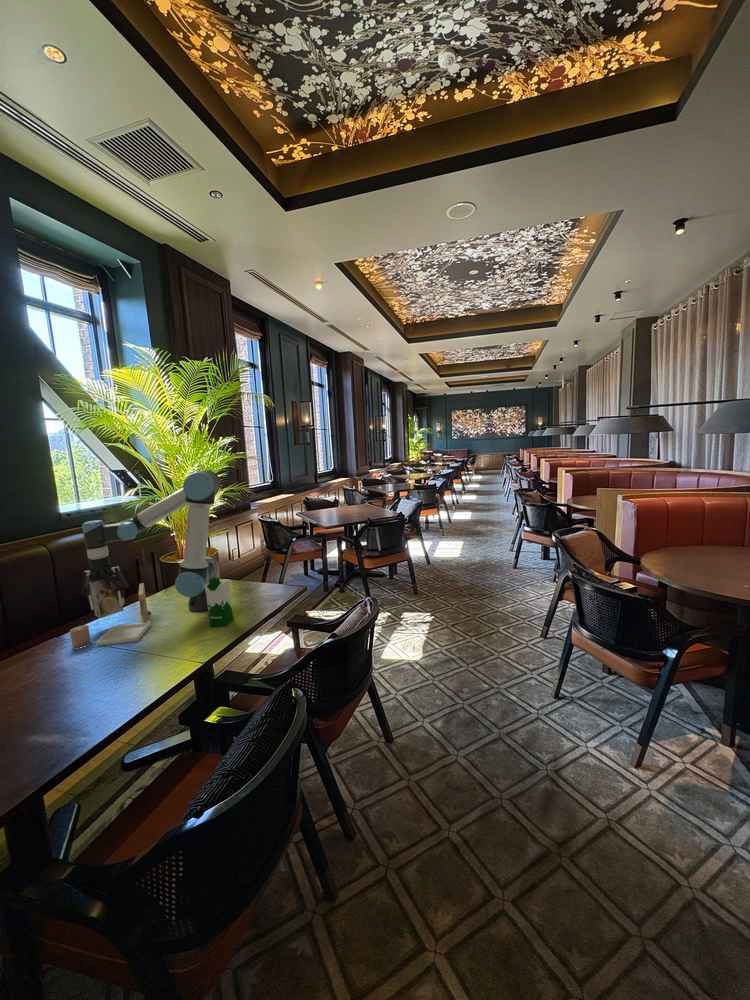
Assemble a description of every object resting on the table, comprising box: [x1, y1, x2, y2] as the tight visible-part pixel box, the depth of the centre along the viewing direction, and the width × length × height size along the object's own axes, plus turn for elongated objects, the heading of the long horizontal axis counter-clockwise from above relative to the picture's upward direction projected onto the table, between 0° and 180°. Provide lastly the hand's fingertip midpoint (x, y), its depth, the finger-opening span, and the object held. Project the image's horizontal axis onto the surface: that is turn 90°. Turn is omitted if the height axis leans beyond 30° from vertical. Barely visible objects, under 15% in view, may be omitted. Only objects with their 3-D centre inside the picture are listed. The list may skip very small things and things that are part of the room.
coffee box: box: [88, 574, 125, 619], centre depth 179 cm, size 9×6×16 cm
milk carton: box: [204, 577, 234, 628], centre depth 175 cm, size 9×9×20 cm
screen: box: [138, 582, 152, 623], centre depth 186 cm, size 4×18×14 cm, turn 28°
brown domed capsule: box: [69, 624, 92, 649], centre depth 163 cm, size 6×6×7 cm
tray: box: [95, 620, 152, 647], centre depth 170 cm, size 15×15×2 cm
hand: (108, 606), depth 180 cm, fingers closed on coffee box, 11 cm apart
